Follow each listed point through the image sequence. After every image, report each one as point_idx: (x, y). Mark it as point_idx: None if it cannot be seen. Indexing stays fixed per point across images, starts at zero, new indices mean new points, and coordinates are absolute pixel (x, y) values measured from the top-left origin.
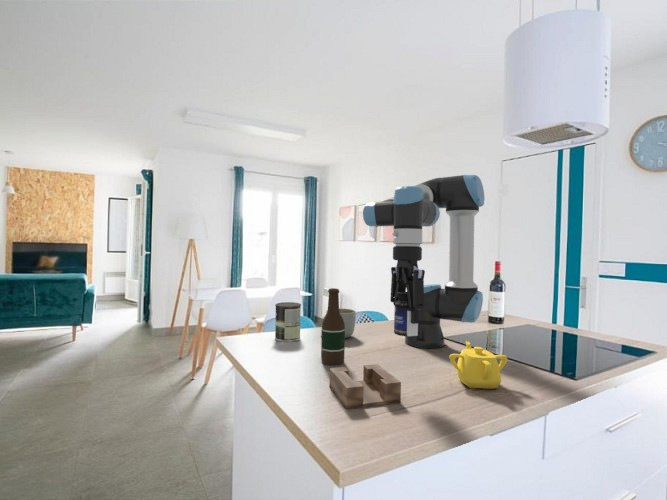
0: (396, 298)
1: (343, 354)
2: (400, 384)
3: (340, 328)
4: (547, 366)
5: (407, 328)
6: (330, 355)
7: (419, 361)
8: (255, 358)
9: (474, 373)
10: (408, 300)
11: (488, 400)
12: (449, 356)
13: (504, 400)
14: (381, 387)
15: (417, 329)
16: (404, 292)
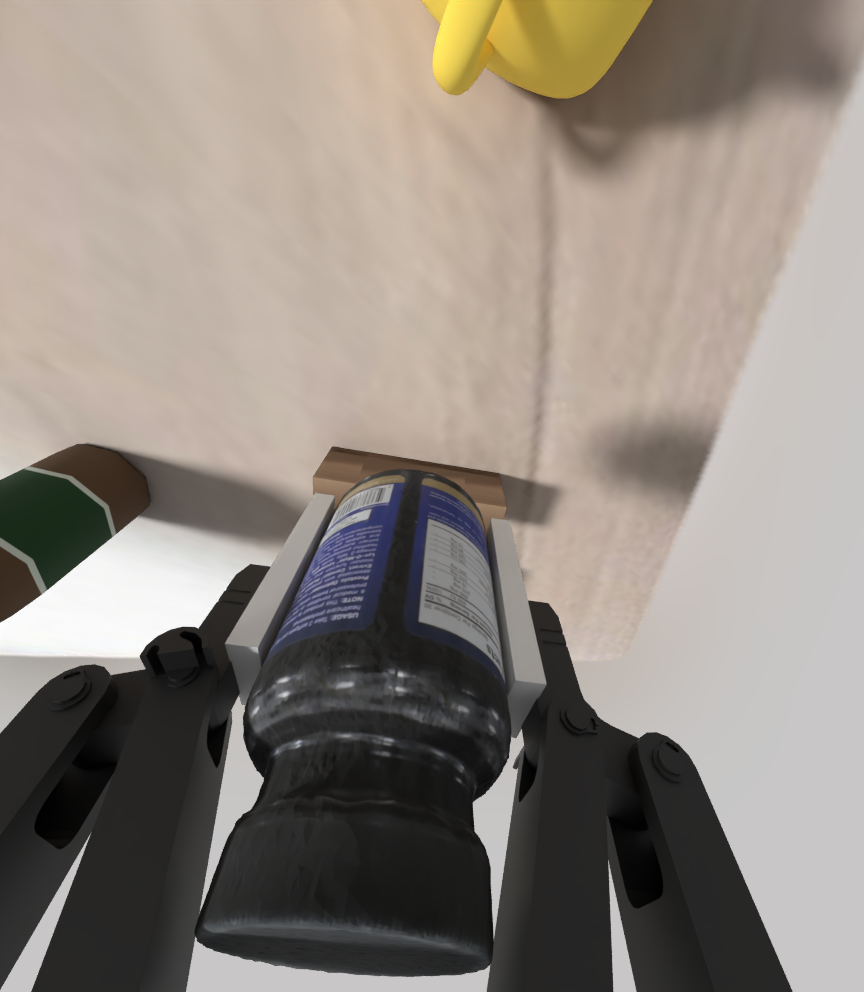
0: (216, 806)
1: (96, 471)
2: (505, 504)
3: (7, 566)
4: None
5: None
6: (127, 524)
7: (59, 6)
8: (89, 630)
9: (627, 37)
10: (509, 860)
11: (696, 121)
12: (441, 83)
13: (765, 6)
14: None
15: (516, 550)
16: (293, 950)
